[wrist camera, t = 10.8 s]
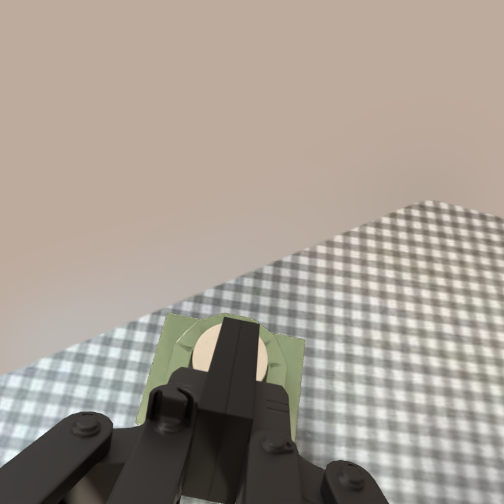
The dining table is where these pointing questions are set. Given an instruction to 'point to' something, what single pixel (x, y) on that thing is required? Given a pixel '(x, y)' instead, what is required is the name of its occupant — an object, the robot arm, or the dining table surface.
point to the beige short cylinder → (207, 345)
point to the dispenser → (185, 338)
